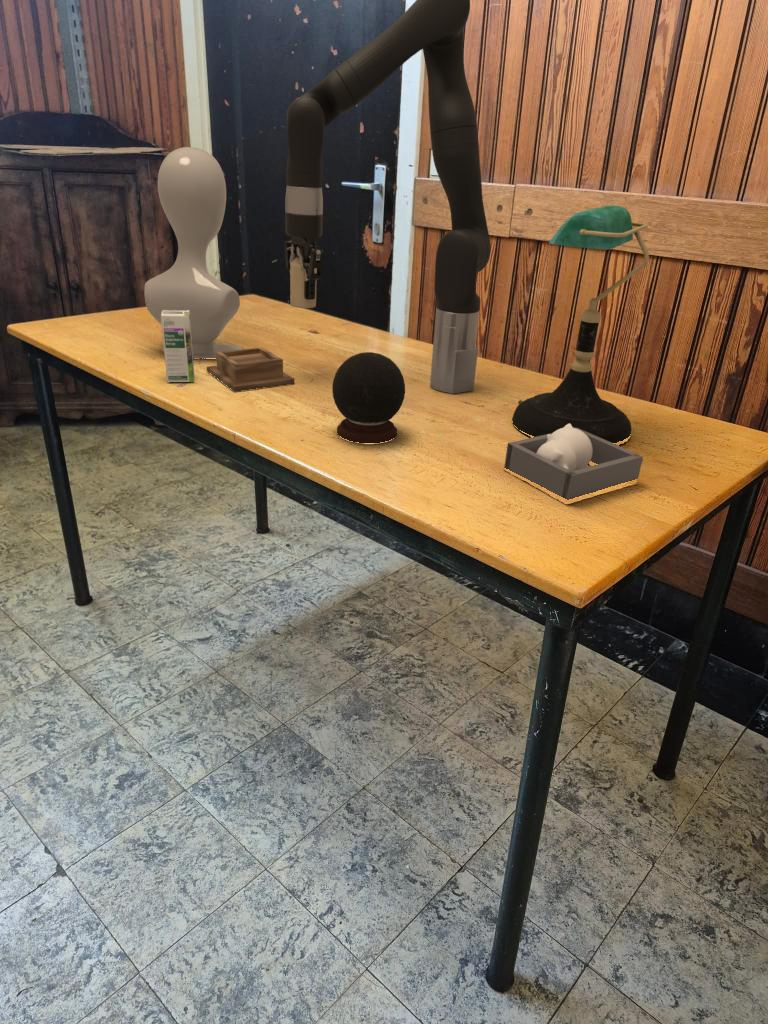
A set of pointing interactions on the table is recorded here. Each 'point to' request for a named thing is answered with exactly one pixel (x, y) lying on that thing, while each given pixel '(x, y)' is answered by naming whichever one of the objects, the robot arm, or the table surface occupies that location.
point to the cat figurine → (567, 448)
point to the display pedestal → (249, 369)
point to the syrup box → (177, 346)
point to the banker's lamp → (584, 340)
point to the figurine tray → (569, 484)
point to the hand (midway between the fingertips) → (303, 295)
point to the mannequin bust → (193, 249)
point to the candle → (299, 286)
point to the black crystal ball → (368, 397)
